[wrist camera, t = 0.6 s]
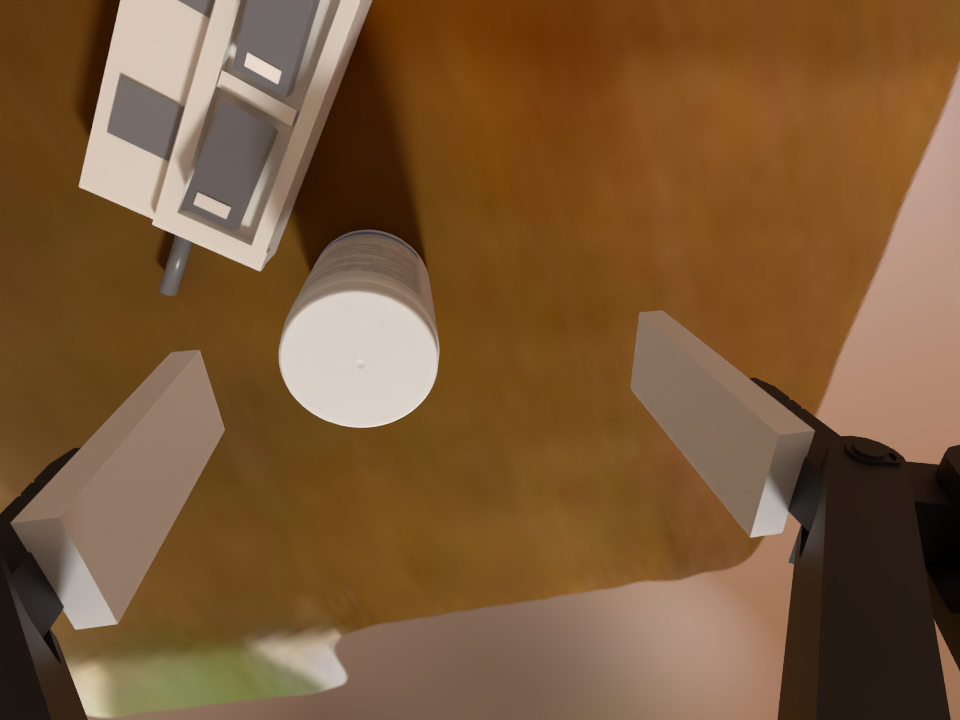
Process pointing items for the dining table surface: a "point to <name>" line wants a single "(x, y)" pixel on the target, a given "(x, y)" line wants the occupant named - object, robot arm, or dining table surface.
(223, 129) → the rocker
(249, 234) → the power strip
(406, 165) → the dining table surface
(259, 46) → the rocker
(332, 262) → the supplement tub
